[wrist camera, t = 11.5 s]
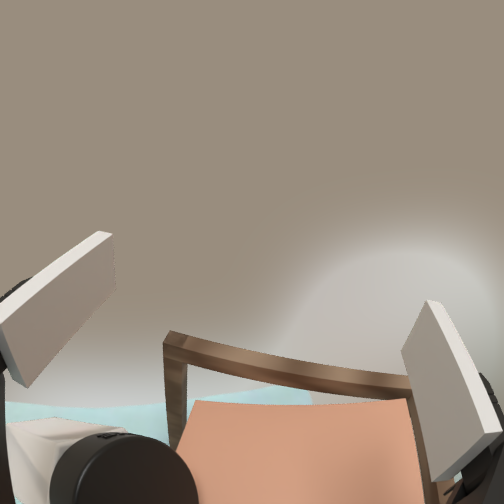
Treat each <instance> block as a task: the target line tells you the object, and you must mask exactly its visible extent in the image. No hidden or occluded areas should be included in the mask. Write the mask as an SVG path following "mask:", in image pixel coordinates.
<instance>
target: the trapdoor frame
mask: <svg viewBox="0 0 504 504" xmlns="http://www.w3.org/2000/svg"><path fill="white" fill-rule="evenodd" d="M163 362H164V382H165V397H166V411H167V423H168V434H169V444H170V447H171V448H172V449H173V450H174V451H176V450H177V447H178V445H179V442H180V439H181V437H182V434H183V432H184V429H185V426H186V424H187V364H191V365H194V366H198V367H202V368H206V369H209V370H213V371H217V372H221V373H225V374H229V375H234V376H238V377H242V378H247V379H252V380H256V381H261V382H266V383H271V384H276V385H281V386H287V387H292V388H298V389H304V390H310V391H317V392H323V393H330V394H338V395H345V396H353V397H362V398H371V399H381V400H395V399H403V398H406V402H407V406H408V411H409V415H410V418H411V420H412V425H413V430H414V435H415V440H416V446H417V451H418V457H419V463H420V469H421V475H422V481H423V489H424V497H425V504H446V502H447V500H448V499H449V498H448V497H450V495H451V493H452V491H451V492H450V493H448V494H447V495H446V496H444V495H443V494H444V493H445V491H446V490H448V489H449V488H450V487H452V486H453V485H454V484H455V482H454V477H453V478H451V479H450V480H446V481H438V482H431V476H430V470H429V465H428V459H427V454H426V449H425V444H424V439H423V435H422V430H421V425H420V421H419V417H418V413H417V408H416V404H415V400H414V396H413V393H412V389H411V385H410V381H409V378H408V376H404V375H395V374H387V373H378V372H371V371H362V370H355V369H349V368H342V367H336V366H329V365H323V364H317V363H311V362H305V361H300V360H294V359H289V358H284V357H279V356H274V355H269V354H264V353H260V352H255V351H250V350H246V349H241V348H237V347H233V346H229V345H224V344H220V343H216V342H212V341H208V340H204V339H200V338H196V337H193V336H189V335H185V334H181V333H178V332H174V331H169V333H168V335H167V336H166V338H165V340H164V341H163Z"/></svg>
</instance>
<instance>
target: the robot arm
mask: <svg viewBox="0 0 504 504" xmlns="http://www.w3.org/2000/svg"><path fill="white" fill-rule="evenodd" d="M115 290H116V283H115V268H114V249H113V234H111V233H106V232H102V231H97V232H96V233H94V234H93V235H91V236H90V237H88V238H87V239H85V240H84V241H82V242H81V243H80V244H78V245H77V246H75V247H74V248H72V249H71V250H70V251H68V252H67V253H65V254H64V255H62V256H61V257H60V258H58V259H57V260H55V261H54V262H53V263H51V264H50V265H49V266H47V267H46V268H45V269H43V270H42V271H41V272H39V273H38V274H37V275H35V276H34V277H31V278H28V279H26V280H24V281H21V282H20V283H19V284H17V285H16V286H15V287H13V288H12V290H10V291H8V292H7V293H6V294H5V295H4V296H2V297H1V298H0V504H16V503H15V498H14V493H13V487H12V481H11V475H10V468H9V460H8V451H7V440H6V424H5V378H4V375H3V371H4V370H5V369H6V368H8V371H9V372H10V375H11V377H12V379H13V380H14V381H16V382H18V383H19V384H21V385H23V386H24V387H26V388H29V386H30V385H31V384H32V383H33V382H34V380H35V379H36V378H37V377H38V375H39V374H40V373H41V372H42V371H43V370H44V368H45V367H46V366H47V365H48V364H49V363H50V362H51V360H52V359H53V358H54V357H55V356H56V354H57V353H58V352H59V351H60V350H61V349H62V348H63V347H64V345H65V344H66V343H67V342H68V341H69V340H70V338H72V336H73V335H74V334H75V333H76V332H77V331H78V330H79V329H80V328H81V327H82V325H83V324H84V323H85V322H86V321H87V320H88V319H89V318H90V317H91V316H92V315H93V313H94V312H95V311H96V310H97V309H98V308H99V307H100V306H101V305H102V304H103V303H104V302H105V301H106V299H108V298H109V296H110V295H111V294H112V293H113V292H114V291H115ZM401 353H402V357H403V360H404V363H405V367H406V371H407V374H408V378H409V381H410V385H411V389H412V393H413V396H414V400H415V404H416V408H417V413H418V417H419V421H420V425H421V430H422V435H423V439H424V444H425V449H426V454H427V459H428V465H429V470H430V476H431V482H438V481H446V480H450V479H451V478H453V477H454V476H455V475H456V474H458V473H459V472H460V471H461V474H462V479H461V480H459V481H458V482H457V483H455V484H454V485H453V486H452V487H450V488H449V489H448V490H446V491H445V493H444V494H443V495H444V496H446V495H447V494H448V493H450V492H451V491H452V493H451V495H450V497H448V498H449V499H448V500H447V502H446V504H504V415H503V413H502V411H501V408H500V405H499V404H498V401H497V399H496V397H495V396H494V392H493V390H492V388H491V386H490V383H489V382H488V381H487V379H486V378H485V377H484V376H483V375H482V374H481V373H478V372H477V369H476V367H475V365H474V363H473V361H472V359H471V357H470V355H469V353H468V351H467V349H466V347H465V345H464V343H463V341H462V339H461V338H460V336H459V334H458V332H457V330H456V328H455V326H454V325H453V323H452V321H451V319H450V317H449V316H448V314H447V312H446V311H445V309H444V307H443V305H442V303H440V302H435V301H430V300H426V301H425V304H424V306H423V308H422V310H421V312H420V314H419V316H418V319H417V321H416V322H415V325H414V327H413V329H412V331H411V333H410V334H409V336H408V338H407V340H406V342H405V344H404V346H403V348H402V350H401Z"/></svg>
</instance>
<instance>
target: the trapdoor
mask: <svg viewBox="0 0 504 504" xmlns="http://www.w3.org/2000/svg"><path fill="white" fill-rule="evenodd" d="M176 452H177V453H178V454H179V455H180V457H181V458H182V459H183V460H184V462H185V463H186V464H187V466H188V468H189V469H190V471H191V473H192V475H193V478H194V480H195V484H196V487H197V491H198V497H199V504H424V497H423V489H422V482H421V475H420V469H419V463H418V456H417V451H416V445H415V440H414V435H413V430H412V425H411V420H410V415H409V411H408V406H407V402H406V398H403V399H395V400H385V401H375V402H363V403H350V404H329V405H258V404H238V403H223V402H211V401H200V400H196V401H195V403H194V406H193V408H192V411H191V413H190V416H189V419H188V421H187V424H186V426H185V429H184V432H183V434H182V437H181V439H180V442H179V445H178V447H177V450H176Z"/></svg>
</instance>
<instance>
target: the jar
mask: <svg viewBox="0 0 504 504" xmlns="http://www.w3.org/2000/svg"><path fill="white" fill-rule="evenodd" d="M6 440H7V451H8V460H9V468H10V475H11V481H12V487H13V493H14V496H15V497H16V498H17V499H18V500H19V501H20V502H21V503H22V504H199V497H198V491H197V487H196V484H195V480H194V478H193V475H192V473H191V471H190V469H189V468H188V466H187V464H186V463H185V462H184V460H183V459H182V458H181V457H180V455H179V454H178V453H177V452H176V451H174V450H173V449H172V448H171V447H169V446H168V445H166V444H165V443H163V442H161V441H158V440H156V439H153V438H150V437H145V436H142V435H136V434H132V433H128V432H127V431H126V429H125V428H122V427H114V426H106V425H98V424H91V423H85V422H79V421H73V420H68V419H62V418H57V417H52V418H45V419H38V420H31V421H23V422H14V423H7V424H6Z"/></svg>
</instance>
